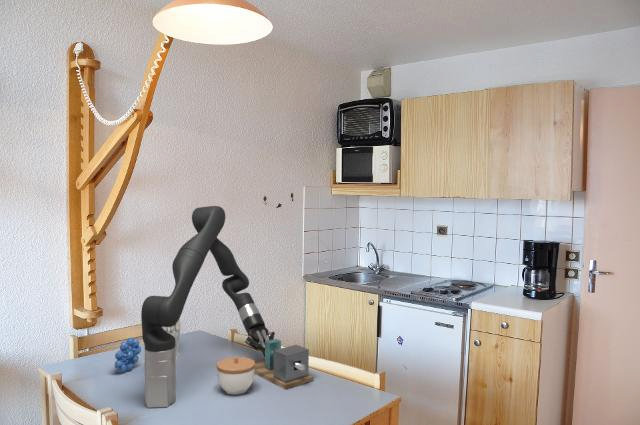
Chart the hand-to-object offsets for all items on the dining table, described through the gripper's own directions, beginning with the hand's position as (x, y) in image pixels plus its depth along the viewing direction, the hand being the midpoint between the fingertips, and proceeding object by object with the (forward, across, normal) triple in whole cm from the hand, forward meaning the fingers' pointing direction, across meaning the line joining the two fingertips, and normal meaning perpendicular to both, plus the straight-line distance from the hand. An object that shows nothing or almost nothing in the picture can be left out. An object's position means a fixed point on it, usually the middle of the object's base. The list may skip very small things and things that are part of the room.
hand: (269, 357), depth 182 cm
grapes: (-20, -40, +27) cm, 53 cm away
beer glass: (-24, -20, +31) cm, 44 cm away
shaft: (+9, 0, -5) cm, 10 cm away
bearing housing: (+11, 0, -7) cm, 13 cm away
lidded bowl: (+9, -19, -2) cm, 21 cm away
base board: (+7, 0, 0) cm, 7 cm away
